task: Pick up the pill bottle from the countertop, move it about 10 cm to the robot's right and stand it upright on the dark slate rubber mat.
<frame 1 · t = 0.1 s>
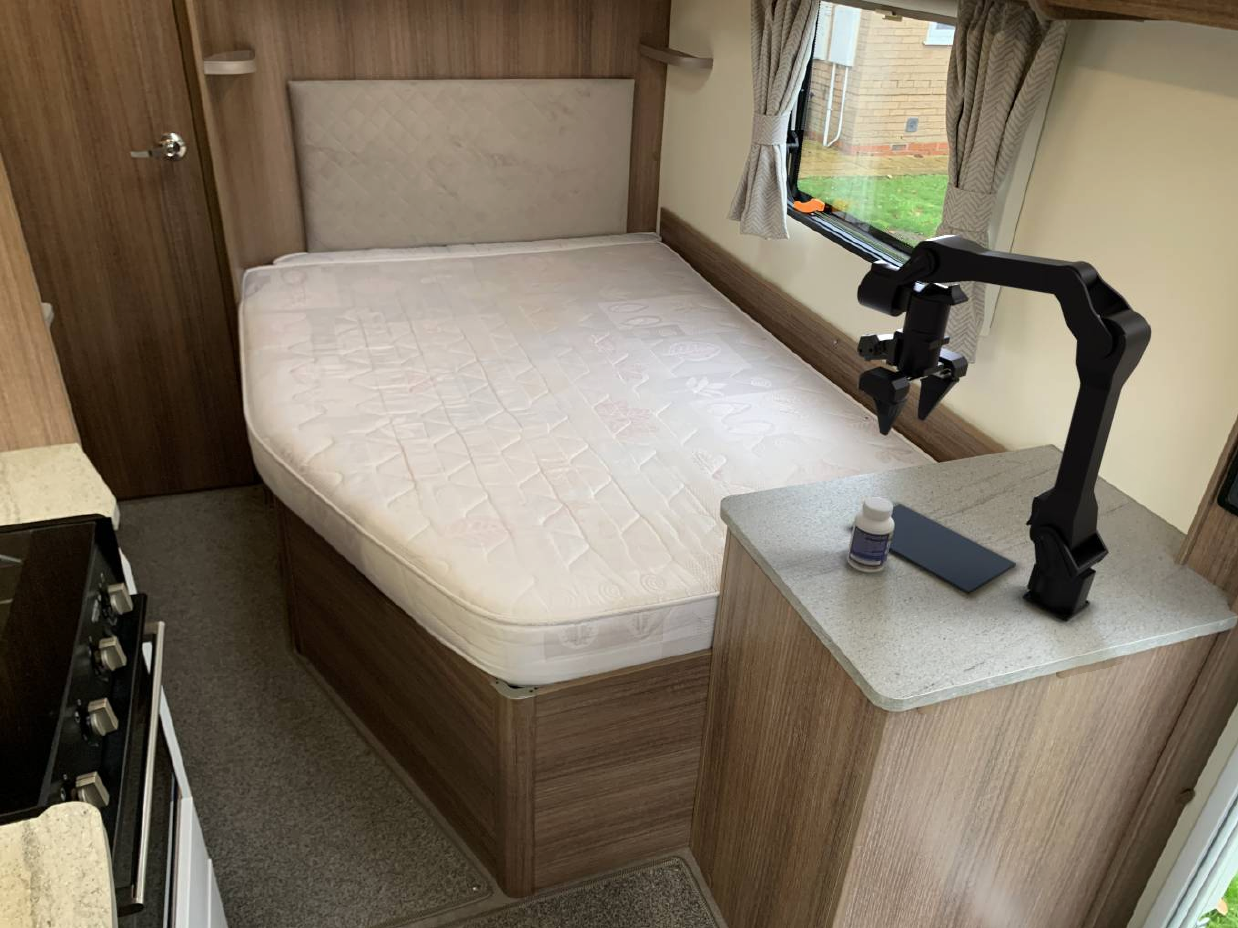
hand: (902, 426, 140), 15 cm above the table, tool pointing down, fingers open, 9 cm apart
rubber mat: (931, 547, 139), on the table
pill bottle: (865, 564, 135), on the table
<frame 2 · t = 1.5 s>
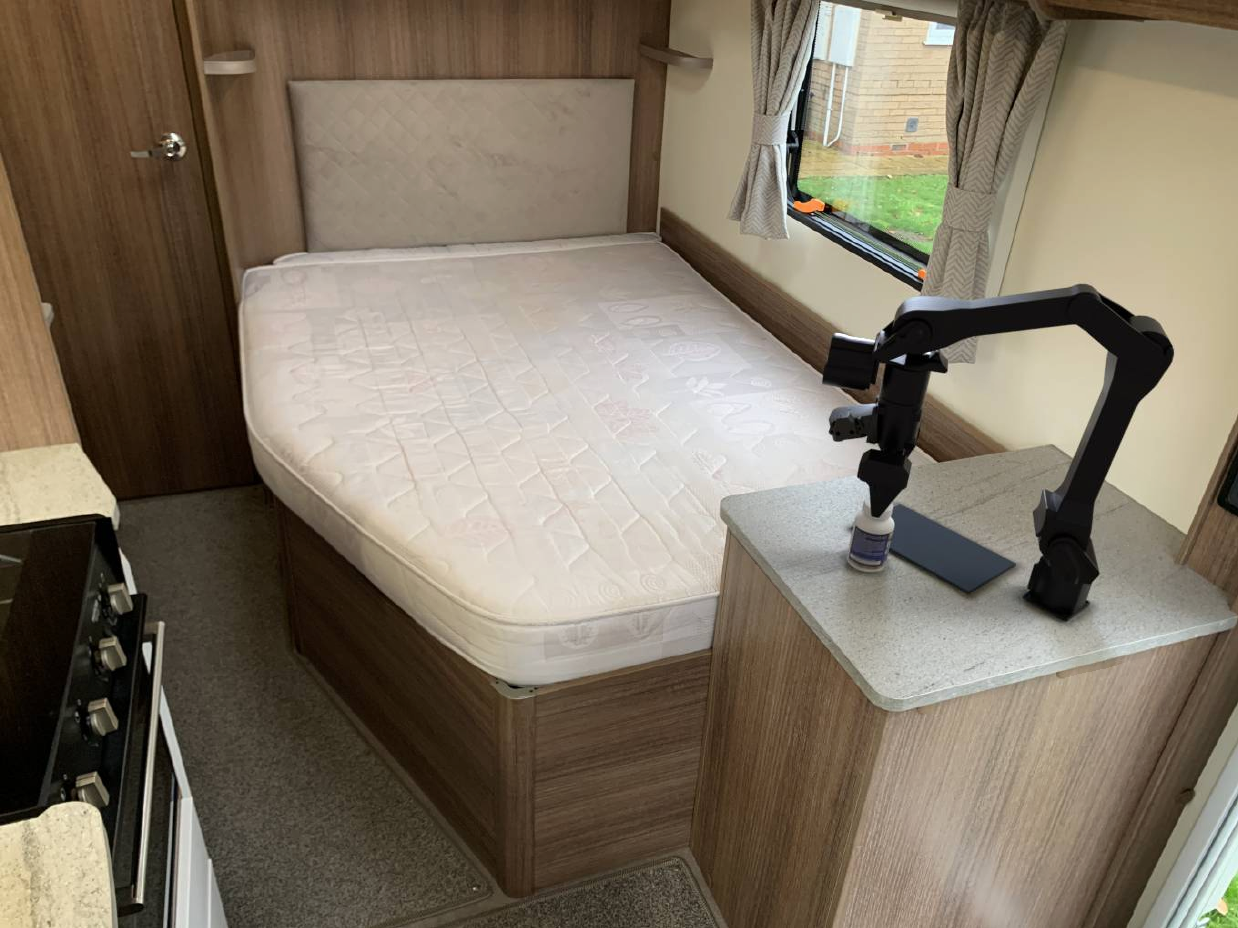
hand: (879, 500, 130), 10 cm above the table, tool pointing down, fingers open, 9 cm apart
nothing on the table moved.
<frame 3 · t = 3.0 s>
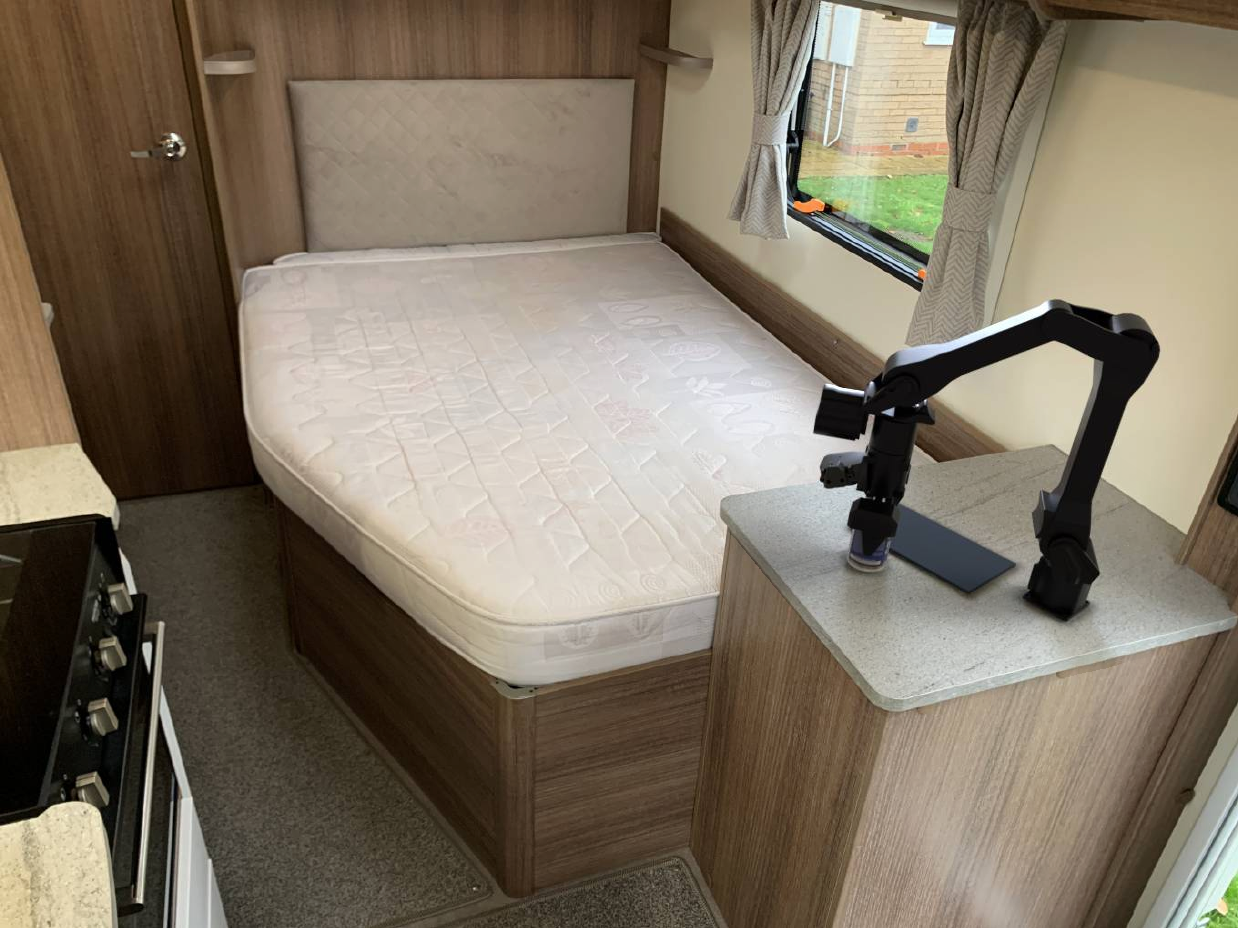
hand: (869, 544, 133), 3 cm above the table, tool pointing down, fingers closed on pill bottle, 5 cm apart
pill bottle: (865, 564, 135), on the table, touching gripper
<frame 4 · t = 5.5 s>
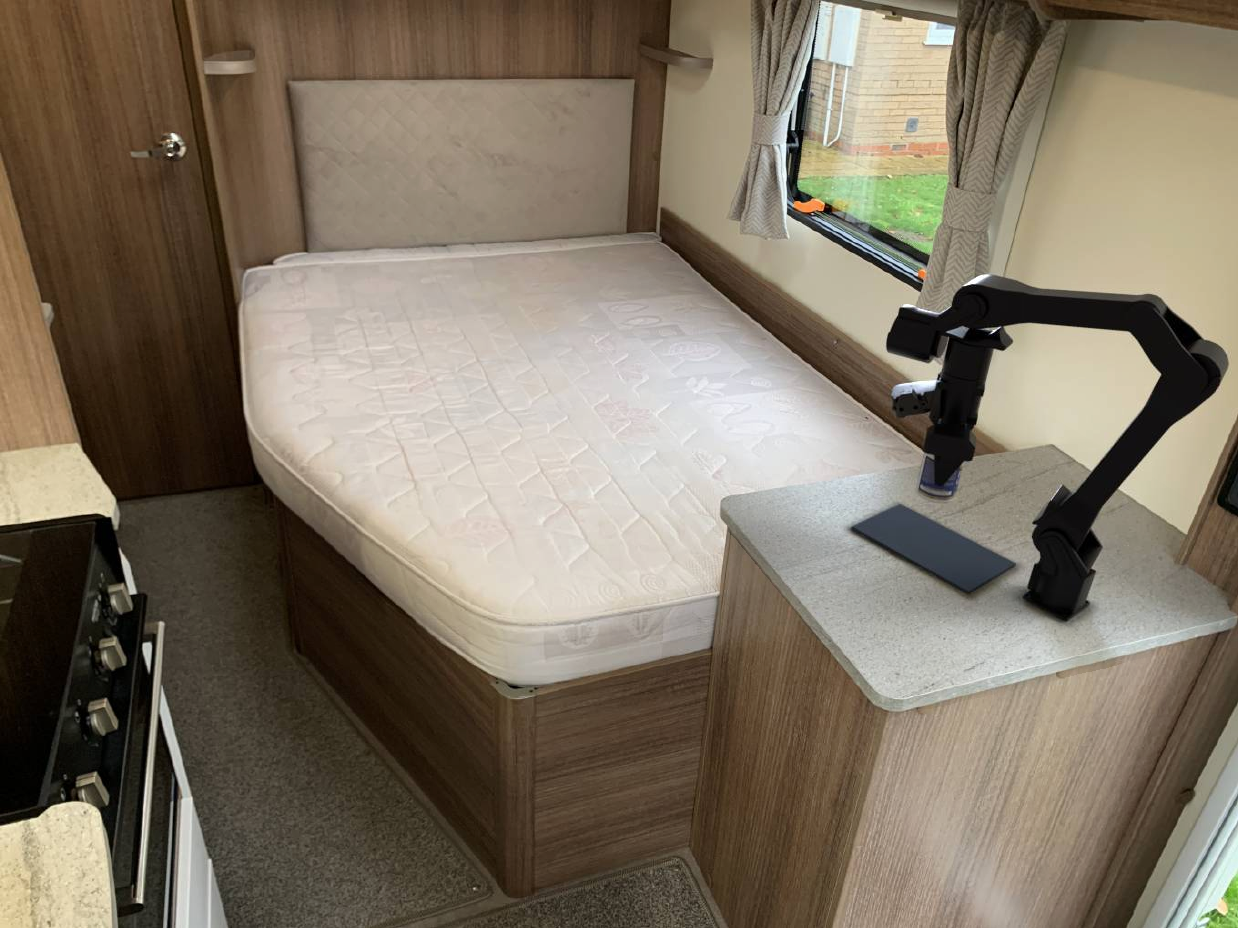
hand: (939, 476, 132), 12 cm above the table, tool pointing down, fingers closed on pill bottle, 5 cm apart
pill bottle: (934, 496, 134), point 9 cm above the table, touching gripper
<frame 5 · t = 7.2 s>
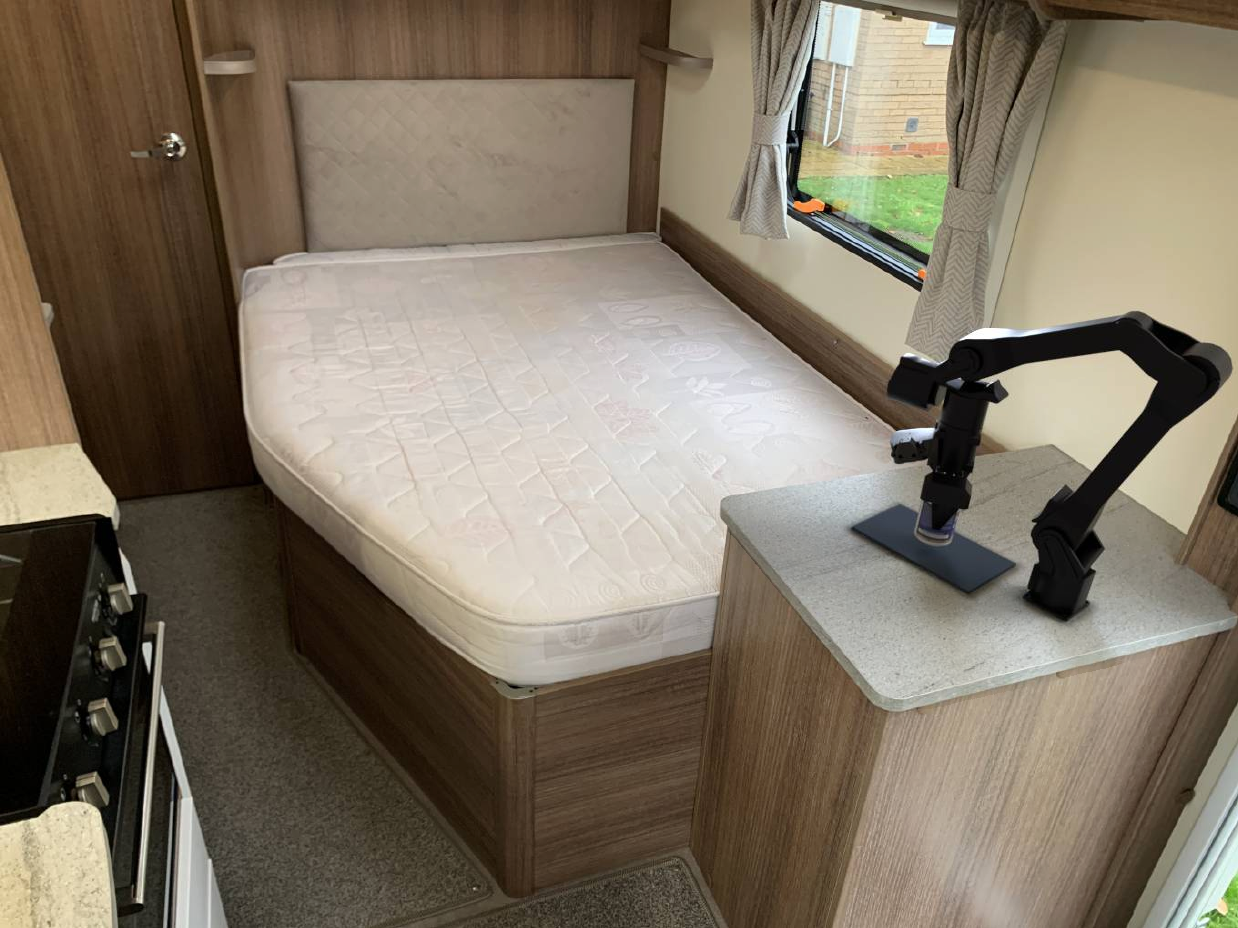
hand: (937, 519, 136), 5 cm above the table, tool pointing down, fingers closed on pill bottle, 5 cm apart
pill bottle: (932, 538, 138), point 2 cm above the table, touching gripper
when the fingers open (3 cm above the table, at t = 8.1 s): pill bottle stays where it is, resting on rubber mat.
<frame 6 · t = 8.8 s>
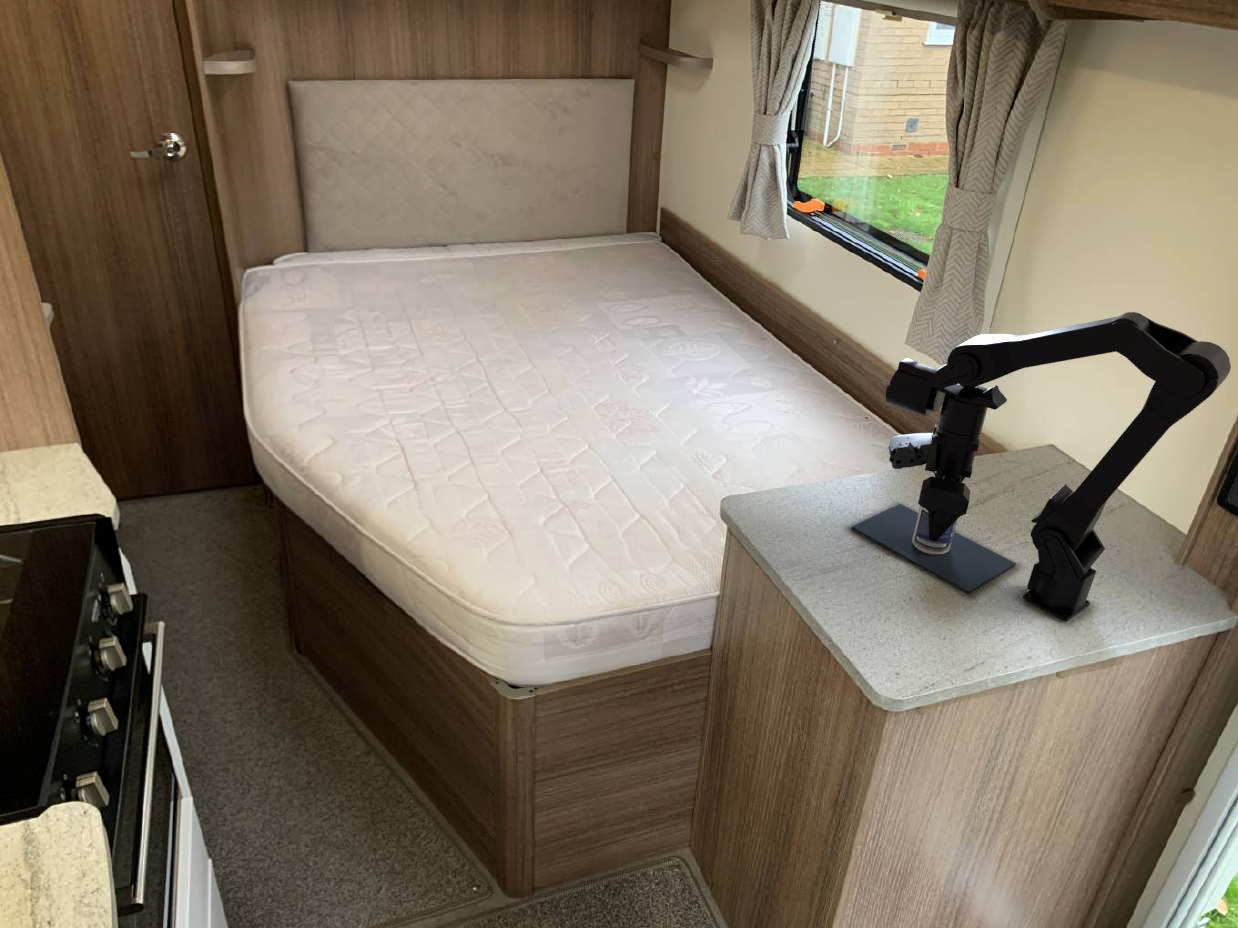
hand: (935, 524, 137), 4 cm above the table, tool pointing down, fingers open, 9 cm apart
pill bottle: (930, 546, 139), resting on rubber mat
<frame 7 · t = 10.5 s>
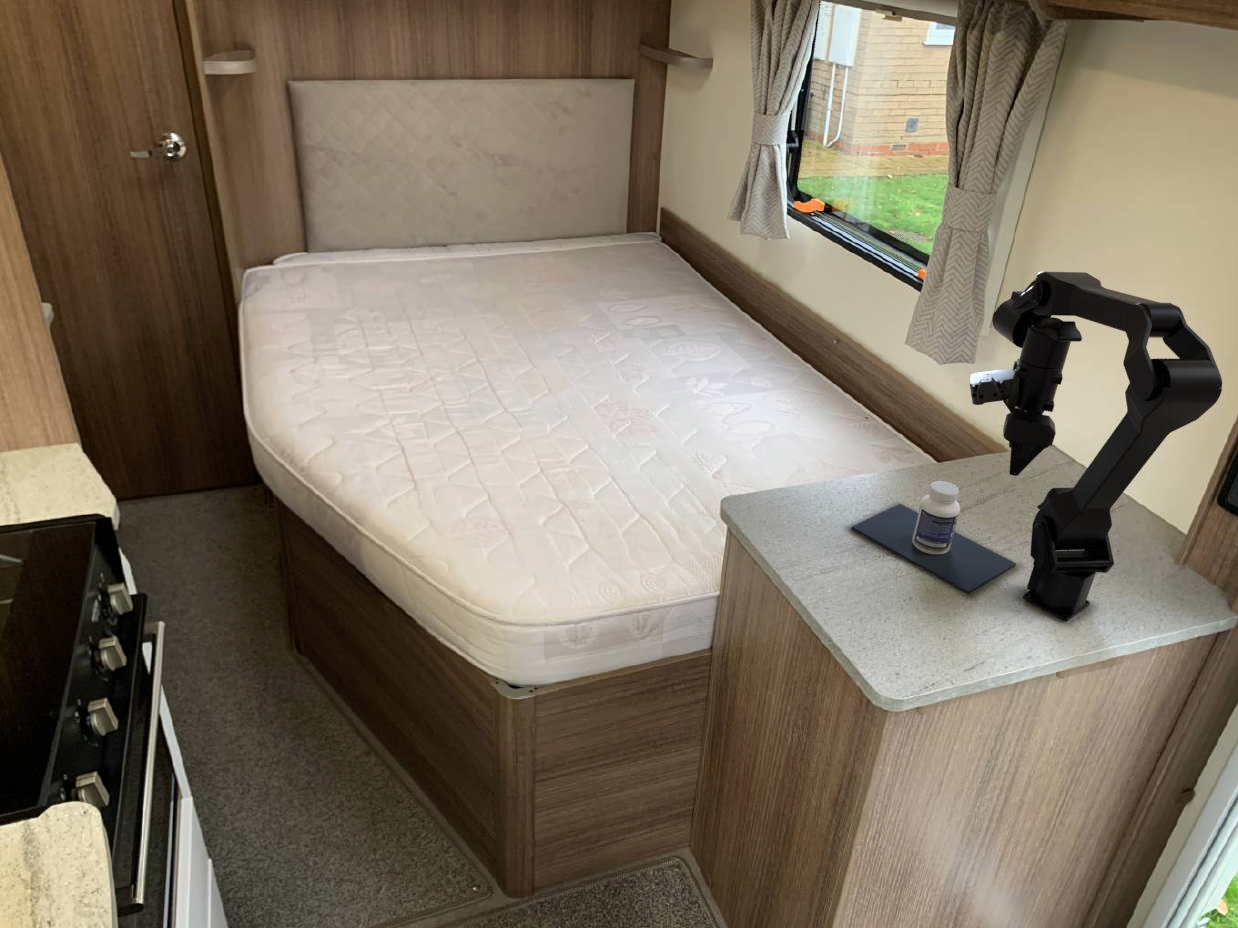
hand: (1012, 461, 138), 12 cm above the table, tool pointing down, fingers open, 9 cm apart
nothing on the table moved.
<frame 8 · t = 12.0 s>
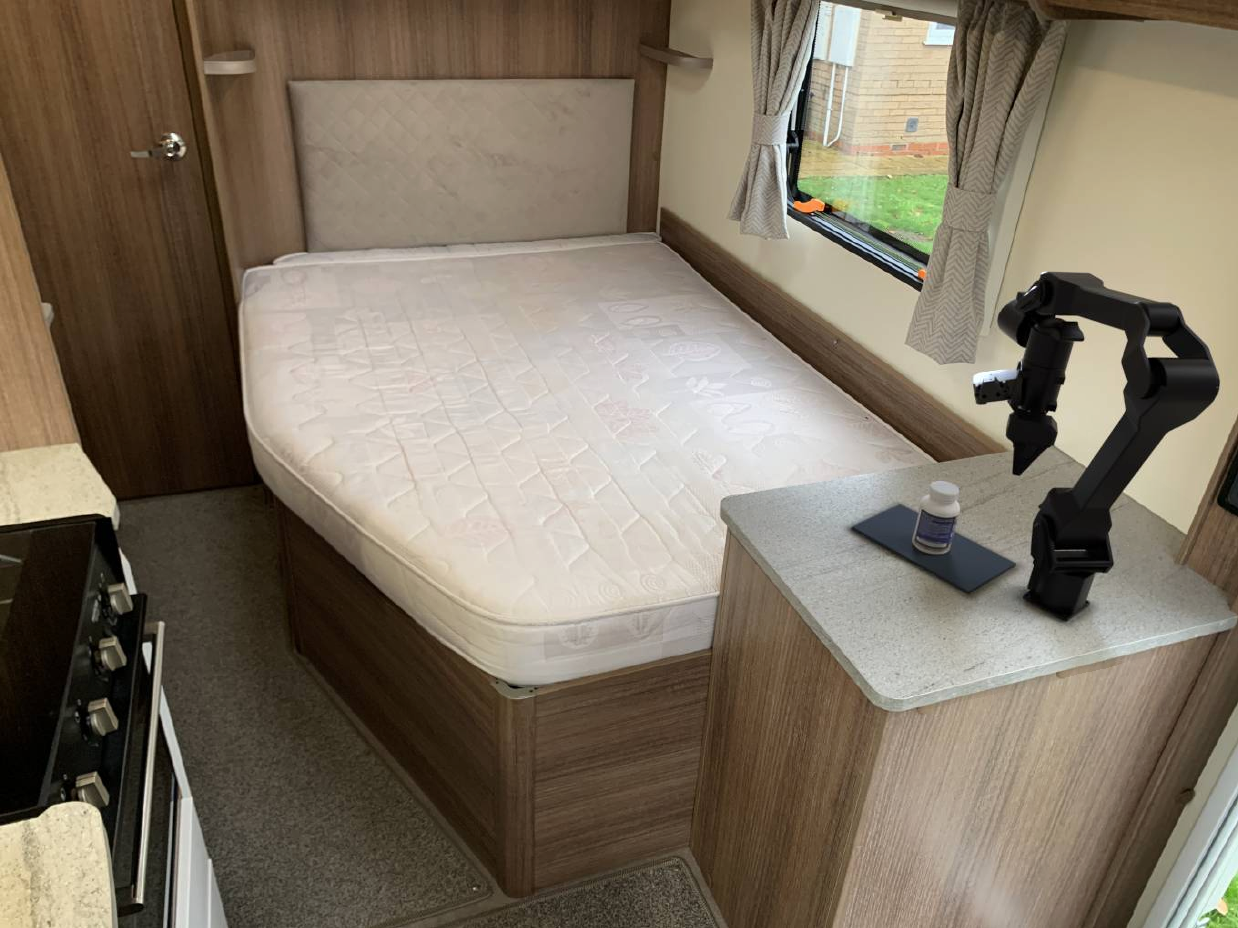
hand: (1016, 461, 139), 12 cm above the table, tool pointing down, fingers open, 9 cm apart
nothing on the table moved.
at the end: pill bottle inside the target area (0.1 cm from its centre), resting on rubber mat; pill bottle tilted 0°; pill bottle touching rubber mat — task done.
